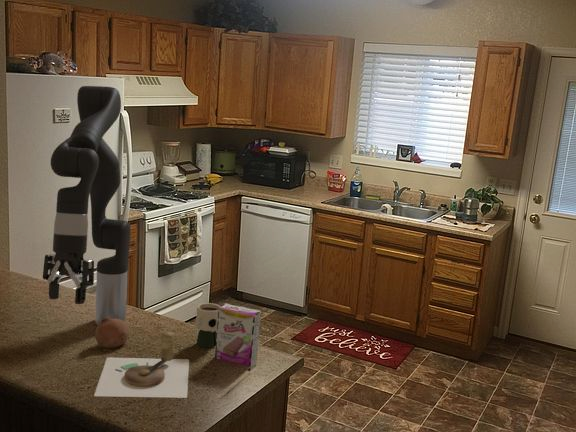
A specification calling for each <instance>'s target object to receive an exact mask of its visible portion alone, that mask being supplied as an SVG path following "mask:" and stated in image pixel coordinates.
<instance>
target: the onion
mask: <svg viewBox="0 0 576 432" xmlns="http://www.w3.org/2000/svg"><path fill="white" fill-rule="evenodd" d="M96 326H97V325H96ZM129 337H130V328H129V326H128V324H127V323H125V322H124V321H123V320H121V319H111V318H107V317H106V318H103V320H102V322H101V323H100V324H99V325H98V326H97V327H96V328H95V333H94V338H95V340H96V343H97V345H98V346H100V347H101V348H102V349H106V348H109V349H113V348H119V347H120V348H121V347H122V346H124V345H125V343H127V341H128V340H129Z"/></svg>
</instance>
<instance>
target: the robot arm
mask: <svg viewBox="0 0 576 432" xmlns="http://www.w3.org/2000/svg"><path fill="white" fill-rule="evenodd" d="M76 95H77V96H76V97H77V98H76V101H77V102H76V103H77V111H78V115H79V116H78V118H79V120H80V121H79V122H78V123H77V124H76V125H75V127H74V128H73V130H72V132H71V134H70V136H69V137H68V138H66V139H65V140H63V142H61V143H59V144H58V145H57V147H55V149H54V150H53V152H52V154H51V157H50V167H51V170H52V171H53V173H54V174H56V176H59V177H61V178H62V177H63V178H75V179H80V181H79V182H78V183H77V184H76V185H74V186H67V187H61V188H60V189H58V190H57V194H56V210H55V217H54V225H53V239H52V251H53V252H54V253H55V254H45V256H44V261H43V270H42V271H43V272H42V280H46V281H47V282H48V285H49V286H48V298H49V299H50V300H57V299H59V295H60V294H59V293H60V283H59V282H60V281H61V279H62V278H63V277H64V276H67V277H70V279H71V280H72V281H73V282H74V284H75V286H76V288H75V293H74V295H75V297H74V298H75V299H74V303H75V304H76V305H82V304H85V301H86V299H87V298H86V295H87V288H88V287H90V286H93V285H95V284H94V283H95V281H94V280H95V260H94V259H84V255H85V253H86V252H87V246H88V232H89V231H88V229H89V219H88V218H89V217H88V214H89V201H90V211H91V212H90V213H91V215H90V216H91V217H90V219H91V238H92V243H93V245H94V246H95V247H96V248H97V249H98V248H99V249H102V250H112V251H115V253H114V255H112V256H108V257H105V258H102V259H100V260H98V261H97V264H96V286H95V287H96V288H95V289H96V290H95V317H94V318H95V321H94V323H95V325H96V326H98V325H99V324H100V323H101V322H102V320H103V318H106V317H107V318H111V319H121V320H123V321H124V322H125V323H126V321H127V320H126V319H127V318H126V317H127V299H128V298H127V296H128V295H127V292H128V267H129V255H130V246H131V236H132V235H131V234H132V232H131V231H132V229H131V225H130V223H129V221H126V220H123V219H112V218H111V219H110V218H107V216H106V210H107V207H108V205H109V204H110V201H111V200H112V198H113V197H114V196H115V194H116V192H117V191H118V189H119V187H120V185H121V180H122V179H121V169H120V162H119V159H118V156H117V155H116V153H115V152H114V151H113V149H112V148H111V147H110V145H109V144H108V143H107V142H106V141H105V139H104V138H103V137H104V136H105V135H106V133H107V132H108V130H109V129H110V128H111V127H112V126H113V124H115V122H116V121H117V119H119V116H120V114H121V110H122V100H121V99H122V98H121V93H120V91H119V90H118V89H117V88H115V87H112V86H103V85H102V86H99V85H98V86H97V85H95V86H94V85H82V86H81V87H80V88H78V90H77V94H76ZM89 198H90V199H89ZM126 324H127V323H126Z"/></svg>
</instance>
